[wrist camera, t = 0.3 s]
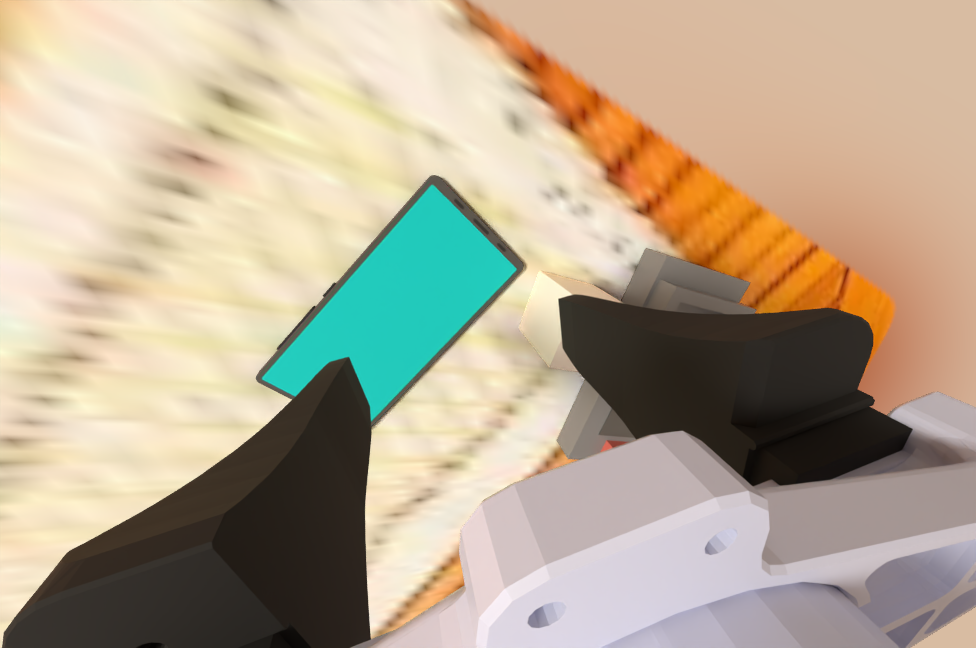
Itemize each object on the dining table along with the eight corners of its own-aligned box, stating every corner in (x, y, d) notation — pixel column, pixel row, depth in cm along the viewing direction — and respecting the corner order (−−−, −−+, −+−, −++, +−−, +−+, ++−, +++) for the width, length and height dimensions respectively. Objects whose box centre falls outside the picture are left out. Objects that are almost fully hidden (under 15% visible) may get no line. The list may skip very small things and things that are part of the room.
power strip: (613, 475, 32) (637, 508, 29) (541, 473, 29) (559, 509, 26) (725, 274, 26) (771, 289, 23) (645, 248, 23) (685, 262, 20)
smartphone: (526, 266, 21) (362, 435, 23) (521, 262, 22) (363, 427, 24) (433, 170, 18) (251, 379, 19) (431, 170, 18) (256, 371, 20)
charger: (569, 337, 24) (610, 378, 20) (518, 327, 23) (550, 369, 19) (592, 284, 23) (642, 314, 19) (539, 270, 22) (579, 299, 17)
